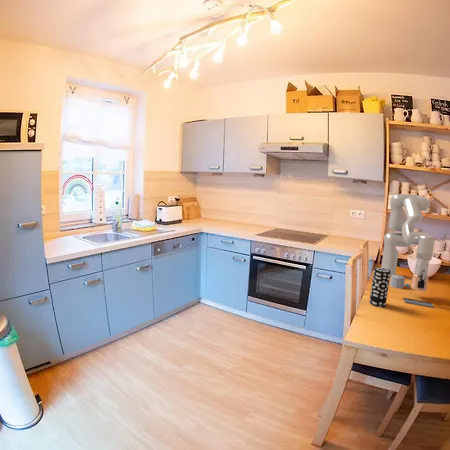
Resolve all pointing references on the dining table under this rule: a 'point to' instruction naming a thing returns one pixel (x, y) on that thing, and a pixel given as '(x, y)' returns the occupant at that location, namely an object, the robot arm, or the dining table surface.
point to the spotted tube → (379, 287)
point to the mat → (418, 302)
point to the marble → (407, 285)
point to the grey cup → (397, 281)
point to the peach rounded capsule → (415, 283)
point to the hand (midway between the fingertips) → (419, 285)
